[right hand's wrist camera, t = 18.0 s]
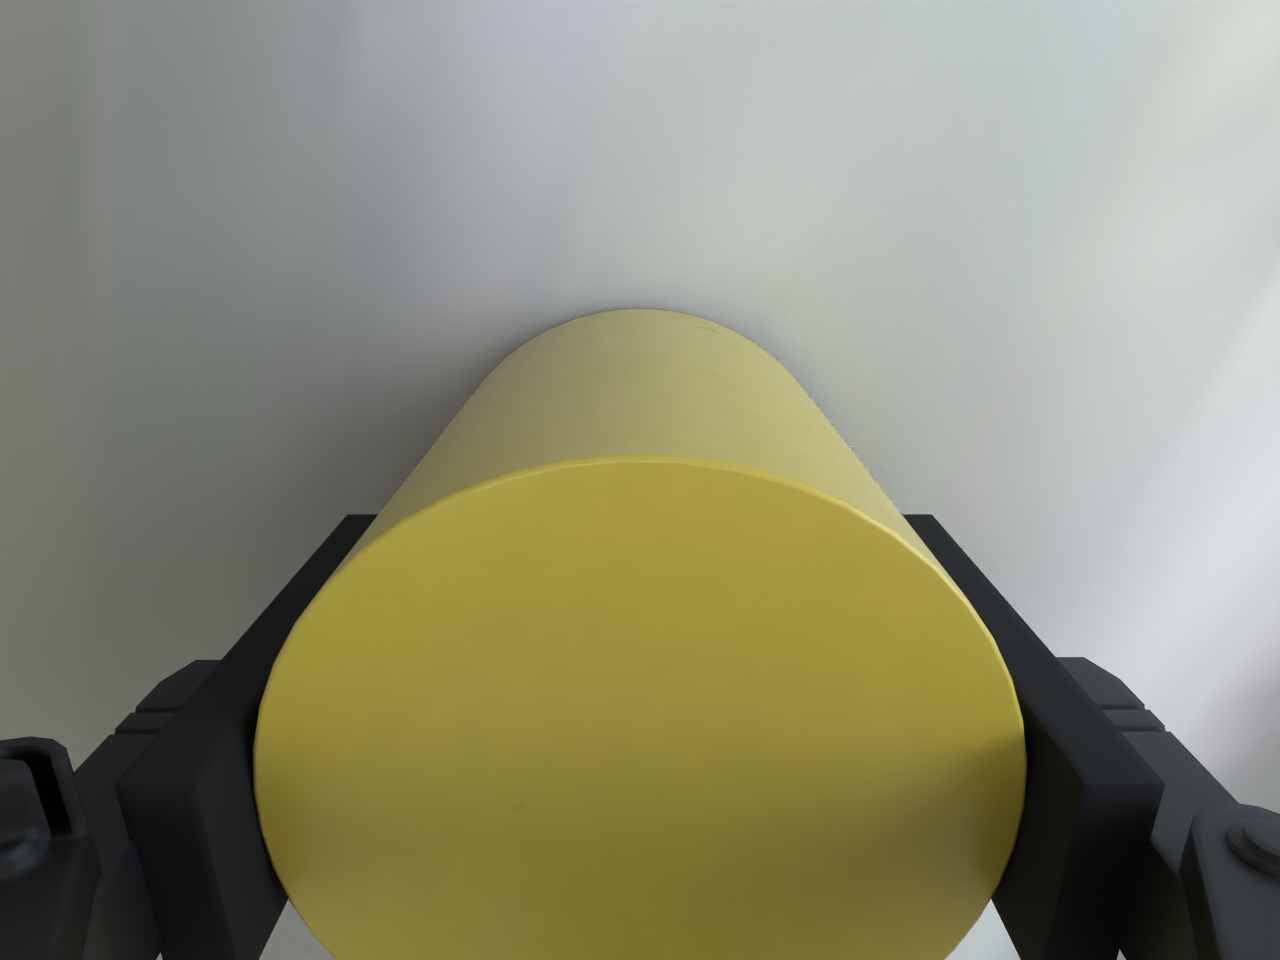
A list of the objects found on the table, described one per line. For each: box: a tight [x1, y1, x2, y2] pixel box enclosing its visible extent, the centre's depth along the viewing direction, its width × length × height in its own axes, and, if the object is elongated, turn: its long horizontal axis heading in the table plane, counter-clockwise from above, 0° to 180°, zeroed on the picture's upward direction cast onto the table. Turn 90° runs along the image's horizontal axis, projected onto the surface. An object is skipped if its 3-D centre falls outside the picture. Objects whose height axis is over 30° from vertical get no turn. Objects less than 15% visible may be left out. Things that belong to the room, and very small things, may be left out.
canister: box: [253, 309, 1027, 960], centre depth 13 cm, size 8×8×9 cm
